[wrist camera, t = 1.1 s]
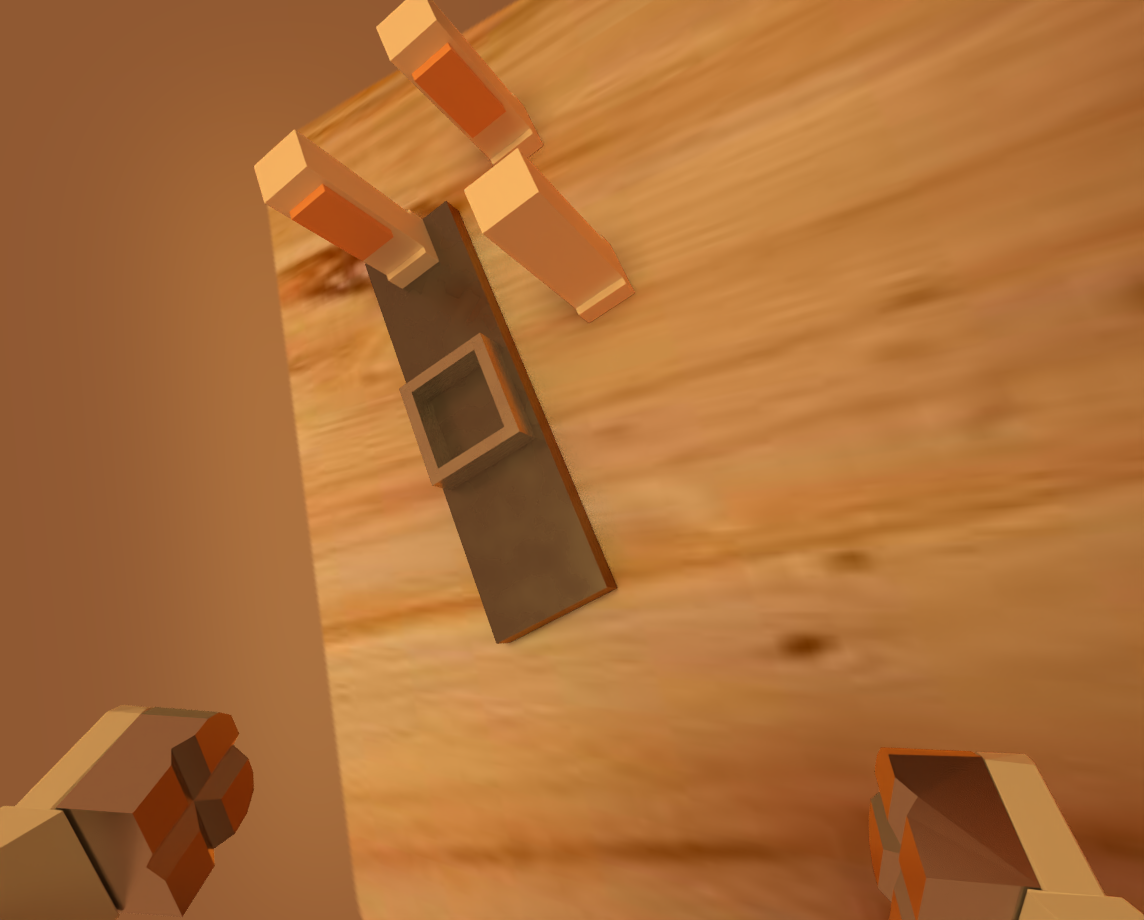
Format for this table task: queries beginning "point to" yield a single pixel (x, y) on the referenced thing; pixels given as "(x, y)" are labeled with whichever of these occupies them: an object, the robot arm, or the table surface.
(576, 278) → the beige tall square block
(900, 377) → the table surface
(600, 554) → the rail
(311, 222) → the post
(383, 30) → the white orange block
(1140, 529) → the table surface
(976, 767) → the robot arm
